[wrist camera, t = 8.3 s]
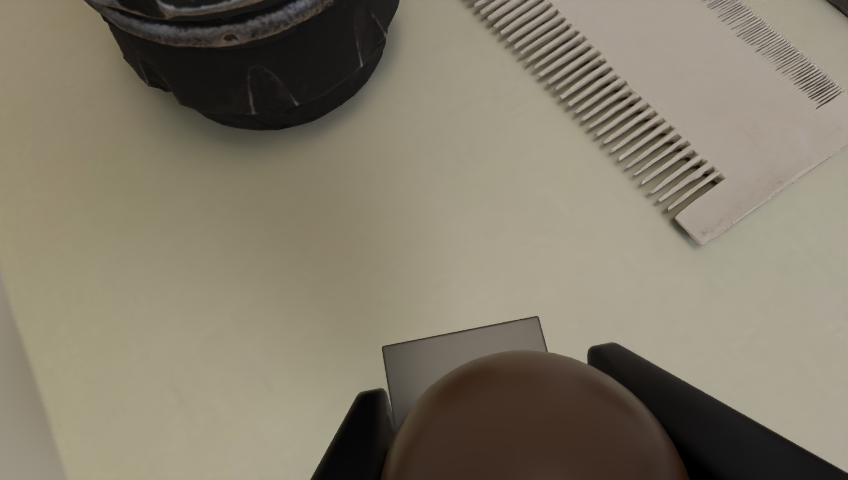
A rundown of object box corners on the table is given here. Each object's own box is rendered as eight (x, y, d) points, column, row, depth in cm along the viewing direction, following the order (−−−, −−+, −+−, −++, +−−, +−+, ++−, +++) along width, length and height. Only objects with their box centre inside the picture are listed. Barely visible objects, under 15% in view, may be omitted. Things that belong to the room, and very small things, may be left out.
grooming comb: (437, -28, 26) (437, -40, 26) (591, -119, 28) (595, -133, 27) (701, 255, 21) (710, 249, 21) (870, 124, 23) (884, 115, 22)
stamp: (586, 563, 13) (993, 998, 3) (429, 596, 13) (377, 1137, 3) (527, 328, 15) (676, 166, 5) (389, 354, 15) (282, 242, 5)
